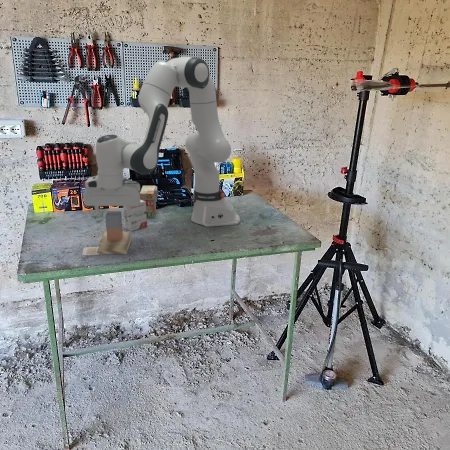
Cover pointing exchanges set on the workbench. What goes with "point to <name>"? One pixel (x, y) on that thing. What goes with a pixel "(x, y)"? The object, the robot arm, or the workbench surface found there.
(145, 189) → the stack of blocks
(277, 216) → the workbench surface
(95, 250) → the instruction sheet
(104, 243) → the base brick
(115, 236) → the terracotta brick
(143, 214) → the ink box
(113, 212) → the grey brick
